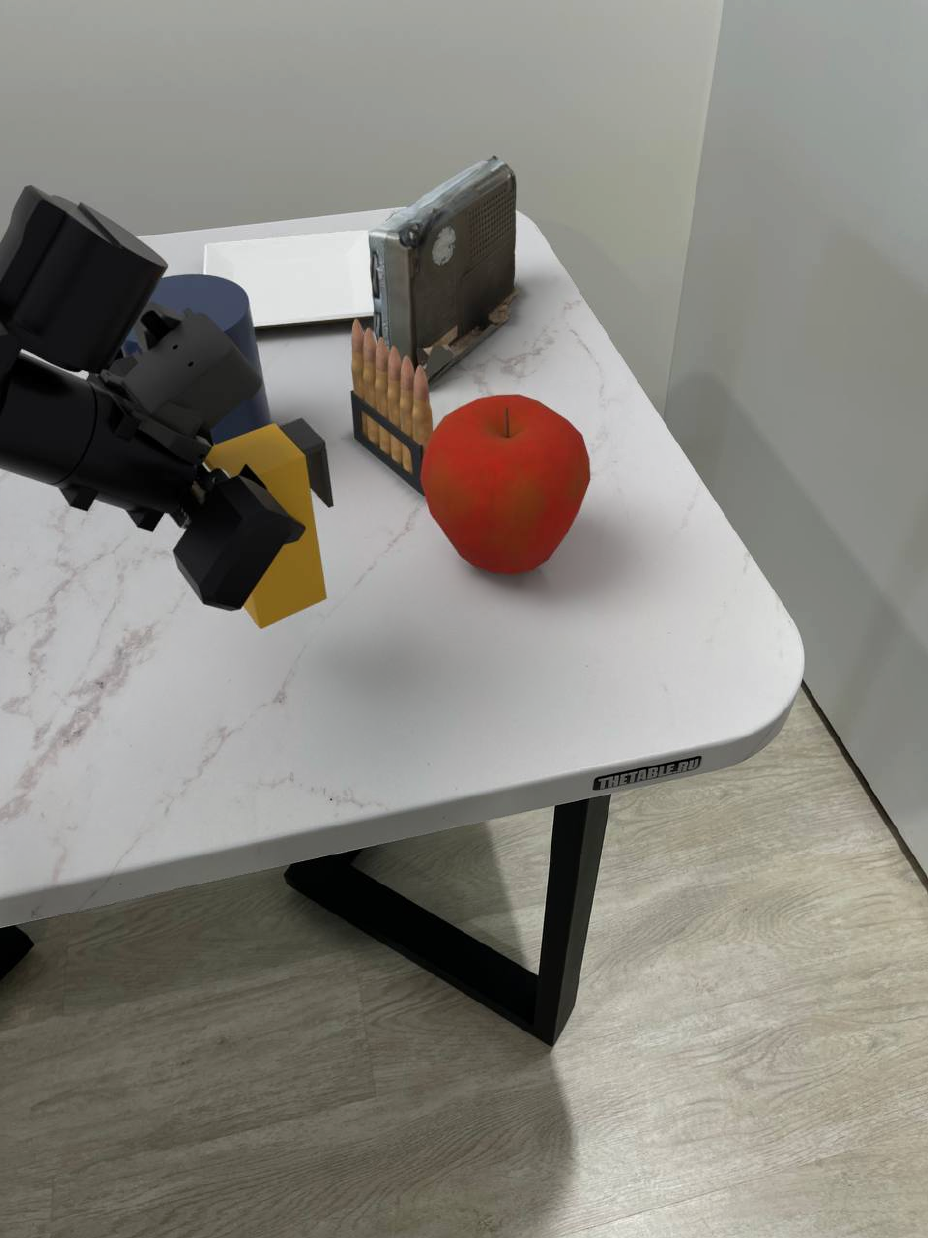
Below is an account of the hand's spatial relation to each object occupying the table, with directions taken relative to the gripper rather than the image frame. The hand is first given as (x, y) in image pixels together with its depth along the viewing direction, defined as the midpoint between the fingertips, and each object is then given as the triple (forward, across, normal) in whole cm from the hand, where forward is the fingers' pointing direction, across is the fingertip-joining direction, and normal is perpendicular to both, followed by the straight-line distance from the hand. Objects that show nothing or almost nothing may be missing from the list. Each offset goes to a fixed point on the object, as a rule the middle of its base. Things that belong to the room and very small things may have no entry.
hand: (285, 514), depth 64 cm
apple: (+22, 0, -3) cm, 22 cm away
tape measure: (+4, 0, +6) cm, 7 cm away
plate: (+26, +47, -7) cm, 54 cm away
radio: (+33, +31, -14) cm, 47 cm away
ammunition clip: (+22, +16, -2) cm, 27 cm away
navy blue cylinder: (+12, +26, +7) cm, 29 cm away
